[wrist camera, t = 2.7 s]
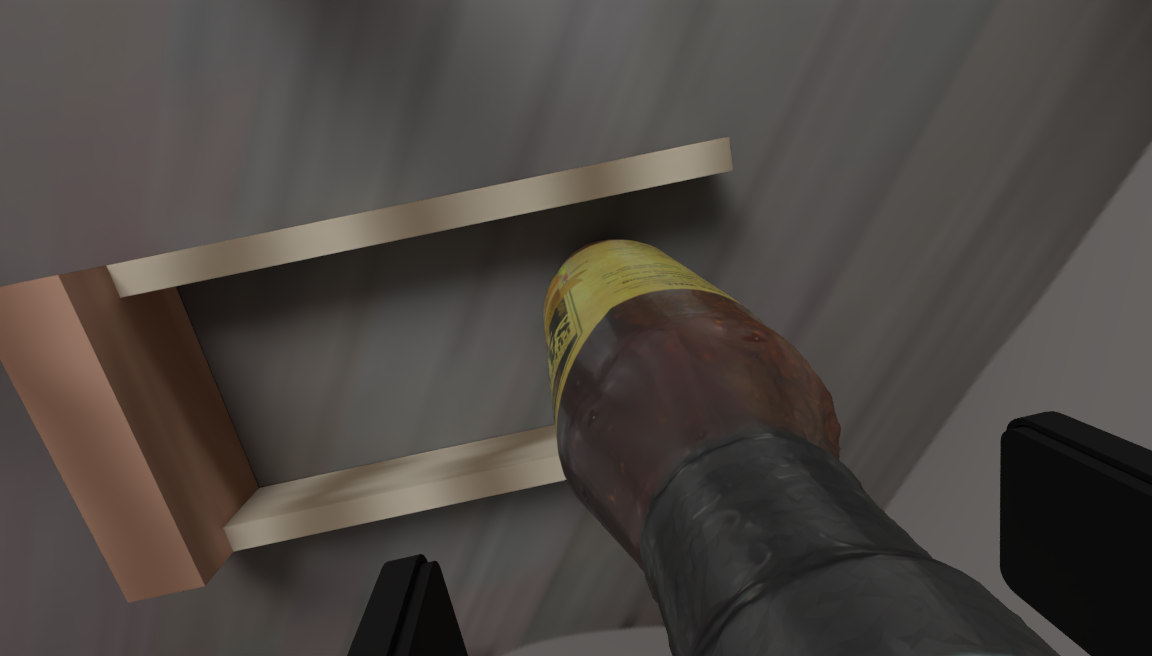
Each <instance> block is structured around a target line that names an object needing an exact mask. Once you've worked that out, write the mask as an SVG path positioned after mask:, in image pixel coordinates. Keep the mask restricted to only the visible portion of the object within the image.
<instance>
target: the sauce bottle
mask: <svg viewBox="0 0 1152 656" xmlns="http://www.w3.org/2000/svg"><path fill="white" fill-rule="evenodd" d="M544 326H545V336H546V346H547V356H548V370H549V381H550V390H551V396H552V404H553V411H554V415H553V417H554V422H555V429H556V439H557V448H558V454H559V459H560V463H561V467H562V470H563V473H564V476H565V478H566V480H567V482H568V484H569V486H570V487H571V489H572V490H573V492H574V494H575V495H576V497H577V498H578V499H579V500H580V501H581V502H582V503H583V504H584V506H585V507H586V508H587V509H588V510H589V511H590V512H591V513H592V514H593V515H594V517H595V518H596V519H597V520H598V521H599V522H600V523H601V524H602V525H603V526H604V527H605V529H606V530H607V531H608V532H609V533H610V534H611V535H612V536H613V537H614V538H615V540H616V541H617V542H618V543H619V544H620V545H621V546H622V547H623V548H624V549H625V550H626V552H627V553H628V554H629V555H630V556H631V557H632V558H633V559H634V560H635V561H636V563H637V564H638V565H639V566H640V568H641V569H642V570H643V571H644V573H645V577H646V580H647V583H648V586H649V588H650V591H651V593H652V596H653V598H654V600H655V601H656V602H657V603H658V605H659V608H660V611H661V615H662V618H663V621H664V624H665V627H666V630H667V634H668V639H669V647H670V650H671V653H672V655H673V656H1060V655H1059V654H1058V653H1057V652H1056V651H1055V650H1053V649H1052V648H1051V647H1050V646H1049V645H1048V644H1047V643H1046V642H1045V641H1044V640H1043V639H1042V638H1041V637H1040V636H1039V635H1037V634H1036V633H1035V632H1034V631H1033V630H1032V629H1030V628H1029V627H1028V626H1027V625H1026V624H1025V622H1024V621H1023V620H1022V619H1021V617H1019V616H1018V615H1017V614H1015V613H1014V612H1012V611H1011V610H1009V609H1008V608H1007V607H1006V606H1005V605H1004V604H1002V602H1000V601H999V600H998V599H997V598H996V597H994V596H993V595H992V594H991V593H990V592H989V591H988V590H987V589H986V588H985V587H984V586H983V585H981V583H979V582H978V581H976V580H974V579H973V578H971V577H970V576H968V575H966V574H965V573H963V572H962V571H960V570H957V569H955V568H953V567H951V566H949V565H947V564H945V563H942V562H940V561H937V560H935V559H933V558H932V557H931V556H930V555H929V554H928V552H927V551H925V550H924V549H923V548H921V547H920V546H919V545H918V544H917V543H916V542H915V541H914V540H913V539H912V538H911V537H910V536H909V534H908V533H907V532H906V531H905V530H903V529H902V528H901V527H900V526H899V525H897V523H896V522H895V521H894V520H892V519H891V518H889V517H888V515H887V514H886V513H885V512H884V511H883V510H882V509H881V508H880V507H879V506H878V505H876V503H875V502H874V501H873V500H872V499H871V498H870V496H869V495H868V494H867V493H866V492H865V491H864V490H863V488H862V486H861V483H860V481H859V480H858V479H857V478H856V477H855V475H854V474H853V473H852V472H851V471H850V470H849V469H848V468H847V467H846V466H845V465H844V464H843V463H842V462H840V461H839V451H840V447H839V436H840V430H841V428H840V424H839V422H838V420H837V417H836V413H835V410H834V405H833V401H832V397H831V394H830V392H829V391H828V390H827V389H826V387H825V385H824V384H823V382H822V381H821V379H820V378H819V377H818V375H817V374H816V373H815V372H814V371H813V370H812V368H811V366H810V365H809V363H808V362H807V360H806V359H805V358H804V357H803V356H802V355H801V354H800V353H799V352H798V351H797V350H796V348H795V347H794V346H793V345H791V344H790V343H789V342H788V341H787V340H785V339H784V338H783V337H781V336H780V335H779V334H778V333H776V332H775V331H773V330H771V329H770V328H768V327H767V326H765V325H764V324H763V322H762V321H761V320H760V319H759V318H758V317H757V316H756V315H755V314H754V313H752V312H751V311H750V310H749V309H748V308H746V307H745V306H743V305H742V304H740V303H739V302H737V301H736V300H734V299H733V298H731V297H730V296H728V295H727V294H725V293H724V292H723V291H721V290H719V289H718V288H716V287H715V286H713V285H712V284H710V283H709V282H707V281H705V280H704V279H702V278H701V277H699V276H698V275H696V274H695V273H694V272H692V271H691V270H689V269H688V268H686V267H685V266H683V265H682V264H680V263H679V262H677V261H676V260H674V259H673V258H671V257H669V256H668V255H666V254H665V253H663V252H662V251H661V250H659V249H658V248H656V247H653V246H651V245H648V244H644V243H641V242H638V241H633V240H630V239H623V240H621V239H613V240H603V241H596V242H593V243H589V244H586V245H584V246H583V247H581V248H580V249H578V250H576V251H575V252H573V253H572V254H571V255H570V256H569V257H568V258H567V259H566V261H565V262H564V263H563V264H562V266H561V267H560V268H559V270H558V272H557V273H556V275H555V276H554V277H553V278H552V280H551V283H550V285H549V288H548V291H547V295H546V299H545V303H544Z"/></svg>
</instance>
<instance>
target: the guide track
mask: <svg viewBox="0 0 1152 656" xmlns="http://www.w3.org/2000/svg"><path fill="white" fill-rule="evenodd" d="M732 170H733V169H732V160H731V151H730V142H729V137H726V138H721V139H716V140H711V141H706V142H702V143H697V144H692V145H687V146H682V147H677V148H673V149H668V150H663V151H658V152H653V153H648V154H644V155H639V156H634V157H629V158H624V159H619V160H615V161H610V162H605V163H600V164H595V165H590V166H586V167H581V168H576V169H571V170H566V171H561V172H557V173H552V174H547V175H542V176H537V177H533V178H528V179H523V180H518V181H513V182H508V183H504V184H499V185H494V186H489V187H484V188H479V189H475V190H470V191H465V192H460V193H455V194H450V195H446V196H441V197H436V198H431V199H426V200H421V201H417V202H412V203H407V204H402V205H397V206H392V207H388V208H383V209H378V210H373V211H368V212H363V213H359V214H354V215H349V216H344V217H339V218H334V219H330V220H325V221H320V222H315V223H310V224H305V225H301V226H296V227H291V228H286V229H281V230H276V231H272V232H267V233H262V234H257V235H252V236H247V237H243V238H238V239H233V240H228V241H223V242H218V243H214V244H209V245H204V246H199V247H194V248H189V249H185V250H180V251H175V252H170V253H165V254H160V255H156V256H151V257H146V258H141V259H136V260H132V261H127V262H122V263H117V264H112V265H107V266H102V267H97V268H92V269H87V270H81V271H76V272H71V273H66V274H60V275H55V276H51V277H46V278H41V279H36V280H31V281H26V282H22V283H17V284H12V285H7V286H2V287H0V360H1V362H2V364H3V366H4V368H5V370H6V371H7V373H8V375H9V377H10V379H11V381H12V383H13V385H14V387H15V389H16V390H17V392H18V394H19V396H20V398H21V400H22V402H23V404H24V406H25V408H26V409H27V411H28V413H29V415H30V417H31V419H32V421H33V423H34V425H35V427H36V428H37V430H38V432H39V434H40V436H41V438H42V440H43V442H44V444H45V446H46V447H47V449H48V451H49V453H50V455H51V457H52V459H53V461H54V463H55V465H56V466H57V468H58V470H59V472H60V474H61V476H62V478H63V480H64V482H65V484H66V485H67V487H68V489H69V491H70V493H71V495H72V497H73V499H74V501H75V503H76V505H77V506H78V508H79V510H80V512H81V514H82V516H83V518H84V520H85V522H86V524H87V525H88V527H89V529H90V531H91V533H92V535H93V537H94V539H95V541H96V543H97V544H98V546H99V548H100V550H101V552H102V554H103V556H104V558H105V560H106V562H107V563H108V565H109V567H110V569H111V571H112V573H113V575H114V577H115V579H116V581H117V582H118V584H119V586H120V588H121V590H122V592H123V594H124V596H125V598H126V600H127V601H128V603H129V602H133V601H138V600H143V599H147V598H152V597H157V596H161V595H166V594H170V593H175V592H180V591H184V590H189V589H194V588H198V587H203V586H205V585H206V584H207V583H208V582H209V581H210V579H211V578H212V577H213V576H214V575H215V573H216V572H217V571H218V570H219V568H220V567H221V566H222V565H223V564H224V562H225V561H226V560H227V559H228V558H229V556H230V555H231V554H232V553H233V552H234V551H238V550H243V549H248V548H252V547H257V546H262V545H266V544H271V543H275V542H280V541H285V540H289V539H294V538H299V537H303V536H308V535H313V534H317V533H322V532H326V531H331V530H336V529H340V528H345V527H350V526H354V525H359V524H364V523H368V522H373V521H377V520H382V519H387V518H391V517H396V516H401V515H405V514H410V513H415V512H419V511H424V510H428V509H433V508H438V507H442V506H447V505H452V504H456V503H461V502H466V501H470V500H475V499H479V498H484V497H489V496H493V495H498V494H503V493H507V492H512V491H517V490H521V489H526V488H530V487H535V486H540V485H544V484H549V483H554V482H558V481H563V480H566V478H565V476H564V473H563V470H562V467H561V463H560V459H559V454H558V448H557V439H556V429H555V425H551V426H546V427H542V428H537V429H532V430H528V431H523V432H518V433H514V434H509V435H504V436H500V437H495V438H490V439H486V440H481V441H476V442H472V443H467V444H462V445H458V446H453V447H448V448H444V449H439V450H434V451H430V452H425V453H420V454H416V455H411V456H406V457H402V458H397V459H392V460H388V461H383V462H378V463H374V464H369V465H364V466H360V467H355V468H350V469H346V470H341V471H336V472H332V473H327V474H322V475H318V476H313V477H308V478H304V479H299V480H294V481H289V482H285V483H280V484H275V485H271V486H266V487H261V488H259V487H258V484H257V482H256V479H255V477H254V475H253V472H252V470H251V467H250V465H249V463H248V460H247V458H246V455H245V453H244V450H243V448H242V446H241V443H240V441H239V438H238V436H237V434H236V431H235V429H234V426H233V424H232V421H231V419H230V417H229V414H228V412H227V409H226V407H225V404H224V402H223V400H222V397H221V395H220V392H219V390H218V388H217V385H216V383H215V380H214V378H213V375H212V373H211V371H210V368H209V366H208V363H207V361H206V359H205V356H204V354H203V351H202V349H201V346H200V344H199V342H198V339H197V337H196V334H195V332H194V330H193V327H192V325H191V322H190V320H189V317H188V315H187V313H186V310H185V308H184V305H183V303H182V300H181V298H180V296H179V293H178V291H177V288H176V286H179V285H184V284H189V283H194V282H198V281H203V280H208V279H213V278H218V277H222V276H227V275H232V274H237V273H242V272H246V271H251V270H256V269H261V268H266V267H270V266H275V265H280V264H285V263H290V262H294V261H299V260H304V259H309V258H314V257H319V256H323V255H328V254H333V253H338V252H343V251H347V250H352V249H357V248H362V247H367V246H371V245H376V244H381V243H386V242H391V241H395V240H400V239H405V238H410V237H415V236H420V235H424V234H429V233H434V232H439V231H444V230H448V229H453V228H458V227H463V226H468V225H472V224H477V223H482V222H487V221H492V220H496V219H501V218H506V217H511V216H516V215H521V214H525V213H530V212H535V211H540V210H545V209H549V208H554V207H559V206H564V205H569V204H573V203H578V202H583V201H588V200H593V199H597V198H602V197H607V196H612V195H617V194H621V193H626V192H631V191H636V190H641V189H646V188H650V187H655V186H660V185H665V184H670V183H674V182H679V181H684V180H689V179H694V178H698V177H703V176H708V175H713V174H718V173H722V172H727V171H732Z"/></svg>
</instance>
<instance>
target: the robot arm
mask: <svg viewBox="0 0 1152 656" xmlns="http://www.w3.org/2000/svg"><path fill="white" fill-rule="evenodd" d="M1000 472H1001V474H1000V476H1001V477H1000V570H1001V573H1002V576H1003V578H1004V580H1005V582H1006V583H1007V585H1008V586H1009V587H1010V589H1011V590H1012V591H1013V592H1014V593H1015V594H1017V595H1018V596H1019V597H1020V598H1021V599H1023V600H1024V601H1025V602H1026V603H1028V604H1029V605H1030V606H1031V607H1032V608H1034V609H1035V610H1036V611H1037V612H1039V613H1040V614H1041V615H1042V616H1043V617H1045V618H1046V619H1047V620H1048V621H1049V622H1051V623H1052V624H1053V625H1054V626H1055V627H1057V628H1058V629H1059V630H1060V631H1062V632H1063V633H1064V634H1065V635H1066V636H1068V637H1069V638H1070V639H1071V640H1073V641H1074V642H1075V643H1076V644H1077V645H1079V646H1080V647H1081V648H1082V649H1083V650H1085V651H1086V652H1087V653H1088V654H1090V655H1091V656H1152V451H1151V450H1149V449H1146V448H1143V447H1142V446H1139V445H1137V444H1134V443H1132V442H1129V441H1127V440H1124V439H1122V438H1120V437H1117V436H1115V435H1112V434H1110V433H1108V432H1105V431H1102V430H1100V429H1097V428H1095V427H1093V426H1091V425H1088V424H1085V423H1083V422H1081V421H1078V420H1076V419H1073V418H1071V417H1069V416H1066V415H1064V414H1061V413H1058V412H1054V411H1052V412H1051V411H1050V412H1043V413H1039V414H1035V415H1030V416H1026V417H1021V418H1017V419H1014V420H1012V421H1011V422H1010V423H1009V424H1008V426H1007V430H1006V431H1005V432H1004V433H1003V434H1002V436H1001V471H1000ZM347 656H468V654H467V651H466V648H465V645H464V641H463V638H462V635H461V632H460V629H459V625H458V622H457V619H456V616H455V613H454V610H453V606H452V603H451V600H450V597H449V594H448V590H447V587H446V584H445V581H444V578H443V574H442V571H441V568H440V566H439V564H438V562H437V561H432V562H427V559H426V558H425V556H424V555H422V554H419V555H415V556H410V557H406V558H402V559H397V560H393V561H388V562H386V563H385V564H384V565H383V567H382V569H381V572H380V574H379V577H378V579H377V582H376V584H375V587H374V589H373V592H372V594H371V597H370V599H369V602H368V604H367V607H366V609H365V612H364V615H363V617H362V620H361V622H360V625H359V627H358V630H357V632H356V635H355V637H354V640H353V642H352V645H351V647H350V650H349V652H348V655H347Z"/></svg>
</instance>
